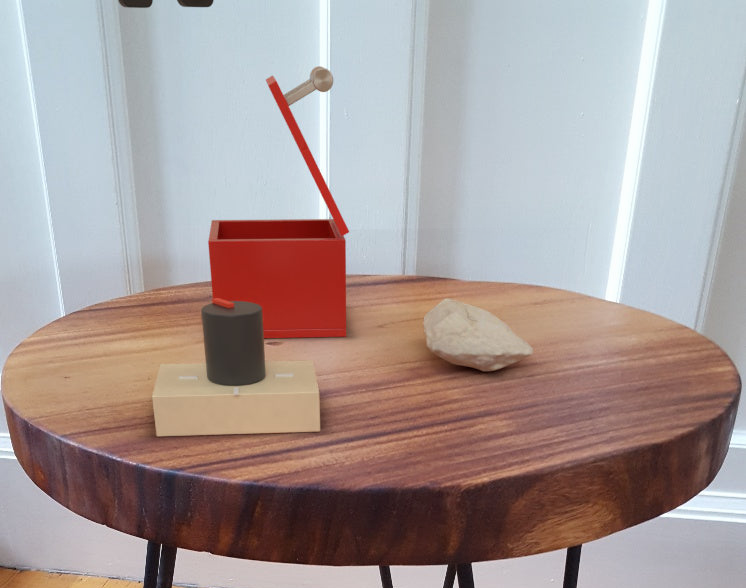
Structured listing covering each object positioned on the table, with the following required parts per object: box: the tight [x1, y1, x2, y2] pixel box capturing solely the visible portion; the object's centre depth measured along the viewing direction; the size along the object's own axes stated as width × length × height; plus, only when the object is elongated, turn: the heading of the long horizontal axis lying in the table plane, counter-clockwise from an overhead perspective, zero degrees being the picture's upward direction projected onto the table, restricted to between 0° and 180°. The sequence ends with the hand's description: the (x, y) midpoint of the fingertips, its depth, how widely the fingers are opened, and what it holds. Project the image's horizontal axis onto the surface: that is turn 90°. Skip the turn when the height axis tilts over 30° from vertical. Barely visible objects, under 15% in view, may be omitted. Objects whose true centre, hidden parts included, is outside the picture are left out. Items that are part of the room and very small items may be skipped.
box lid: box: [265, 65, 350, 236], centre depth 89 cm, size 13×12×5 cm
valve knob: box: [200, 298, 266, 385], centre depth 71 cm, size 4×4×5 cm
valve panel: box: [151, 360, 321, 437], centre depth 73 cm, size 12×9×3 cm
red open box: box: [207, 218, 347, 339], centre depth 95 cm, size 13×12×9 cm
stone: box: [423, 297, 534, 372], centre depth 86 cm, size 9×13×5 cm
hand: (164, 7), depth 62 cm, fingers open, 8 cm apart
